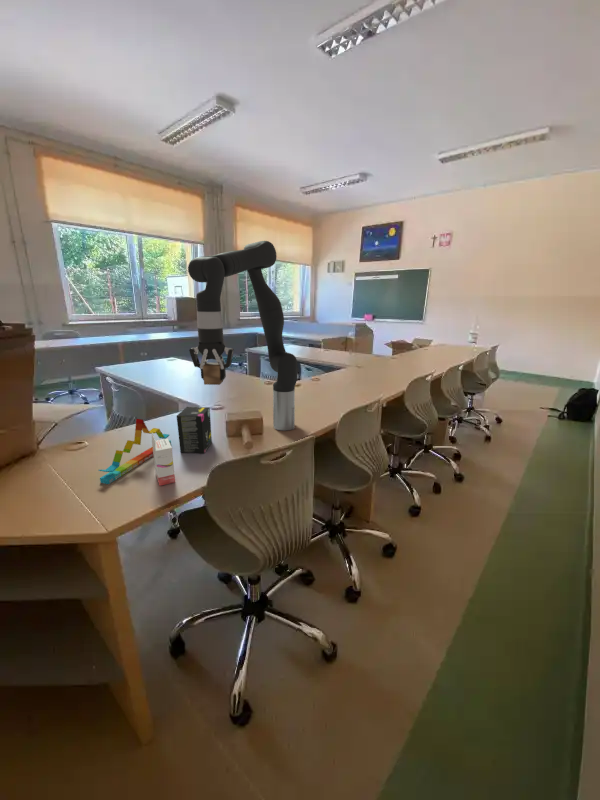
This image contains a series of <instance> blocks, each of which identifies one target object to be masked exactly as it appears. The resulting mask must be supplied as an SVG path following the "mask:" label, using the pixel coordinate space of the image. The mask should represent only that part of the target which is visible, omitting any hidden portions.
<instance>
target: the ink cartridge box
mask: <svg viewBox="0 0 600 800" xmlns="http://www.w3.org/2000/svg"><path fill="white" fill-rule="evenodd" d="M169 440H170V439H169V437H167V438H166V439H162V438H160V439H157V440H156V439H155V436H154V433H152V434H151V445H152V446H151V447H153V455H154V456H153V463H154V470H155V472H154V473H155V476H156V479H157V481H158V484H159V487H161V486H164V485H169V484H175V483H176V476H175V475H176V474H175V466H174V456H173V447H172V443H171V444H170V442H169Z"/></svg>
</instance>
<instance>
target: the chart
mask: <svg viewBox="0 0 600 800" xmlns="http://www.w3.org/2000/svg"><path fill="white" fill-rule="evenodd" d="M142 432H143V434H151V435H152V433H153V434H156V435H157V437H158V438H159V439H167V438H169V436H170V434H169V433H168V434H167V433H162V431H161V429H160V428H156V427H152V428H151V429H150V430H149V429H148V427H147V425H146V423H145V421H144V419H140V418H136V419H135V429H134V438H133V439H134V440H126V442H125V446H124V448H123V450H119V449H118V450H117V449H116V450H115V453H114V457H113V460H112V463H111V464H110V465H109V466H108V467H107V468H106V469H98V472H99V471H100V472H104V473H106V474H104V475H102V476H101V477H99V482H100V483H101V484H105V485H110V484H111V483H113V482H114V481H116V480H117V479H119V478H121V477H122V476H124V475H125V474H126V473H129V472H130V471H132V470H133V469H135V468H136V467H138V466H139V465H141V464H142V463H144V462H146V461H147V460H149V459H150V458H153V457H154V455H153V446H150V447H149V448H148V449H146V450H144V451H143V452H141V453H139V454H137V455H136V456H135V457H133V458H131V459H129V460H128V461H125V462H124V463H122V464H121V460H122V457H123V453H125V454H126V453H127V454H130V453H131V451H132V448H133V446H134V445H138V446H141V443H142ZM168 440H169V442H170V444H171V445H172V440H171V439H168ZM120 464H121V465H120Z"/></svg>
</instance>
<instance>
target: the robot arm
mask: <svg viewBox="0 0 600 800" xmlns="http://www.w3.org/2000/svg"><path fill="white" fill-rule="evenodd" d="M276 250H277V249H276V247H275V246H274V244H273V243H272V242H271V241H269V240H260V241H257V242H255V241H254V242H251V243H248V244H246V245H244V247H243V249H239V250H231V251H225V252H221V253H218V254H213V255H204V256H197V257H194V258H192V260H190V261H189V263H188V265H187V272H188V274H189V277H190V278H191V279H192V280H193V281H194V282H197V283H206V285H205V289H204V290H201V291H199V292H197V293H196V310H197V313H196V314H197V315H196V316H197V317H196V326H197V336H198V345H197V346H196V347H191V348H189V350H188V351H189V355H190V357H191V359H192V360H191V361H192V364H193V366H194V368H199V369H200V377H201V379H202V380H203V381H204V376H203V365H205V364H206V363H208V361H209V360H215V361H216V363H218V364H219V365H220V368H221V369H220V378H221V381H223V382H224V380H225V379H226V376H227V375H226V373H227V371H226V368H230V367H231V365H232V361H233V356H234V351H235V350H234V348H233V347H226V346H225V344H224V327H223V326H224V325H223V315H222V306H221V304H222V303H221V296H222V291H223V285H224V281H225V278H227V277H231V276H235V275H237V274H240V273H243V272H245V271H247V275H248V277H249V279H250V282H251V283H250V284H251V285H252V290H253V293H254V296H255V299H256V300H255V301H256V305H257V309H258V313H259V314H258V315H259V318H260V321H261V326H262V329H263V333H264V338H265V342H266V345H267V346H266V347H267V353H268V361H269V365H270V367H271V369H272V370H273V371H274V372H275V373H277V379H276V381H274V382H273V384H272V394H273V395H272V397H273V399H272V403H273V404H272V405H273V407H272V412H273V414H272V416H273V423H272V424H273V428H274V430H277V431H284V432H285V431H290V430H295V424H296V423H295V421H296V420H295V411H296V409H295V408H296V407H295V401H296V400H295V399H296V398H295V397H296V396H295V391H296V383H297V382H298V381H297V380H298V359H297V357H296V355H294V354H293V353H290V352H287V351H286V349H285V344H284V340H283V331H284V325H285V317H284V312H283V311H284V310H283V306H282V302H281V300H280V299H279V297H278V296H277V295H276V294H275V293H274V291H273V290H272V289H271V288H270V286H269V285H268V283H267V281H266V280H265V278H264V275H263V271H262V270H263V269H268V268H271V267H272V266H274V265H275V264H276V262H277V251H276ZM224 352H225V354H226V355H227V356H226V361H224V358H223V353H224ZM199 353H200V354H201V355H202V356H201V360H200V359H199V356H198V354H199Z"/></svg>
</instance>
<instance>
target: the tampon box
mask: <svg viewBox="0 0 600 800" xmlns="http://www.w3.org/2000/svg"><path fill="white" fill-rule="evenodd" d="M176 422H177V423H176V425H177V433H178V441H179V452H180V453H183V454H184V453H186V454H187V453H188V454H206V452H207V450H208V449H209V447H210V446H211V445H212V443H213V437H212V423H211V407H207V406H205V407H202V406H186V407H185V408H184V409H183V410H182V411H181V412H178V414H177V415H176Z"/></svg>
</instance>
